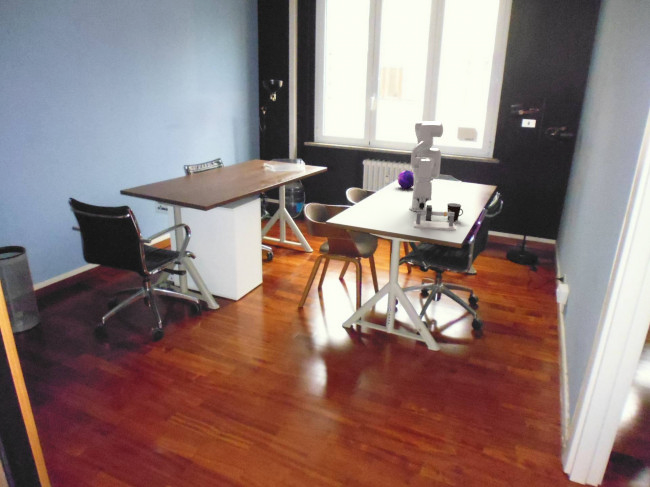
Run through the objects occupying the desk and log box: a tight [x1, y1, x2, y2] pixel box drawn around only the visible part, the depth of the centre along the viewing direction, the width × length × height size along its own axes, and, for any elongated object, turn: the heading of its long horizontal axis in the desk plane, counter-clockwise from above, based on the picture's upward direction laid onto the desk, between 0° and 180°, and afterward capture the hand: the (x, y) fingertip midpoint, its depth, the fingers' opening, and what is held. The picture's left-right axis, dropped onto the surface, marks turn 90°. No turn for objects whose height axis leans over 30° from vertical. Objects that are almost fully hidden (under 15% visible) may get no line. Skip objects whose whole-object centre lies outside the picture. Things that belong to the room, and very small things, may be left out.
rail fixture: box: [413, 210, 457, 231], centre depth 296 cm, size 13×25×9 cm, turn 80°
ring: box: [425, 204, 433, 221], centre depth 295 cm, size 8×3×8 cm, turn 170°
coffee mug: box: [447, 202, 464, 222], centre depth 308 cm, size 12×9×10 cm
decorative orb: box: [397, 169, 414, 190], centre depth 397 cm, size 15×15×15 cm
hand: (421, 209), depth 295 cm, fingers closed
